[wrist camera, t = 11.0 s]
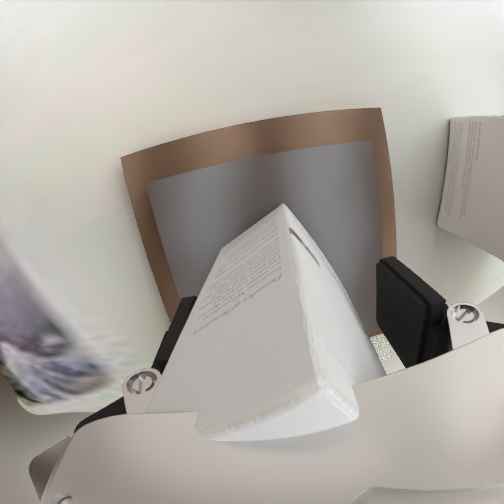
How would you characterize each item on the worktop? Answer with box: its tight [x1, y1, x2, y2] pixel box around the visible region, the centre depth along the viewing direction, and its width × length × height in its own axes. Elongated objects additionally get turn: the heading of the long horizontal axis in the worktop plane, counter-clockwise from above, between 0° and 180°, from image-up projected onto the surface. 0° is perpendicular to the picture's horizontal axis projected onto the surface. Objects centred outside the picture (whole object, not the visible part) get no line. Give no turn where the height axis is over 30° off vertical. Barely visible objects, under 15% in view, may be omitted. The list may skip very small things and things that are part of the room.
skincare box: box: [145, 204, 386, 441], centre depth 10 cm, size 6×4×12 cm
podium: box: [121, 108, 396, 337], centre depth 17 cm, size 16×16×4 cm
